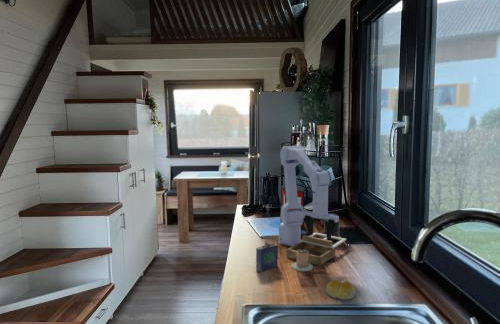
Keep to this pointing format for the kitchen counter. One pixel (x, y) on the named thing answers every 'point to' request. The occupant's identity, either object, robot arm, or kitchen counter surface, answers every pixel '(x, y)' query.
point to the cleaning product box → (299, 196)
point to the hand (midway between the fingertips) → (319, 237)
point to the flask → (266, 257)
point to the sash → (322, 240)
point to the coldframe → (312, 252)
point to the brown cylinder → (302, 258)
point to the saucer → (302, 268)
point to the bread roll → (340, 290)
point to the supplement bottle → (335, 230)
